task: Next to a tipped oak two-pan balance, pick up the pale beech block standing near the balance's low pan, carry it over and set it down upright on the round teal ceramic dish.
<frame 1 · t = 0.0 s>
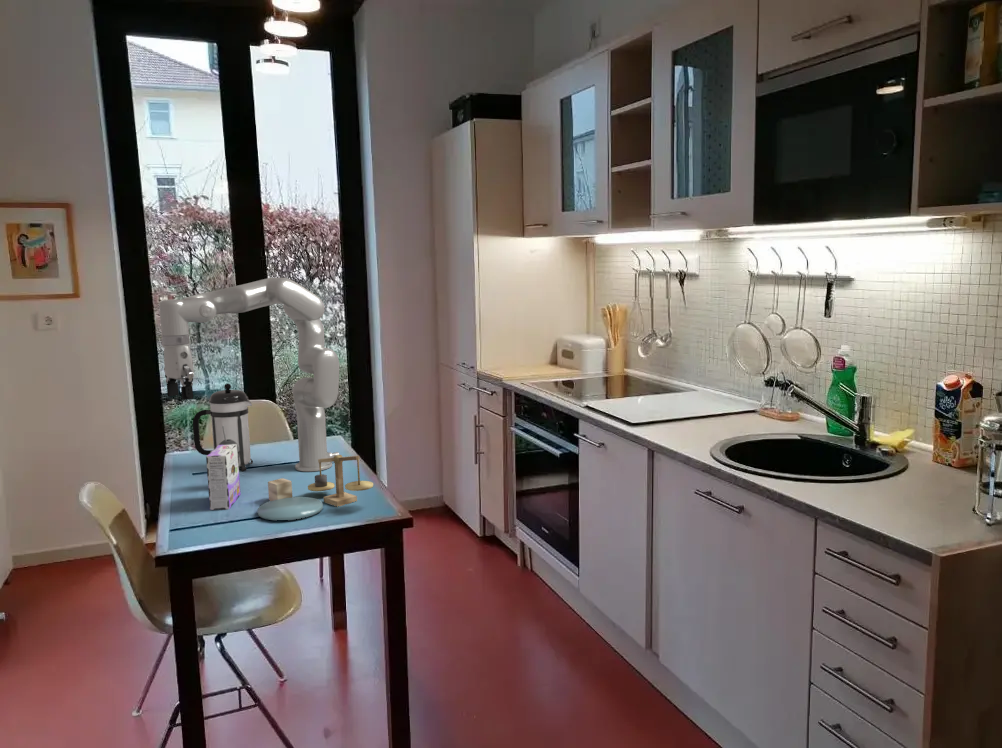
hand: (180, 397, 235), 31 cm above the table, tool pointing down, fingers open, 9 cm apart
coffee press: (229, 468, 272), on the table
candy box: (225, 503, 234), on the table
balance: (340, 501, 232), on the table
dish: (290, 511, 224), on the table
block: (280, 500, 235), on the table
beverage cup: (230, 487, 249), on the table
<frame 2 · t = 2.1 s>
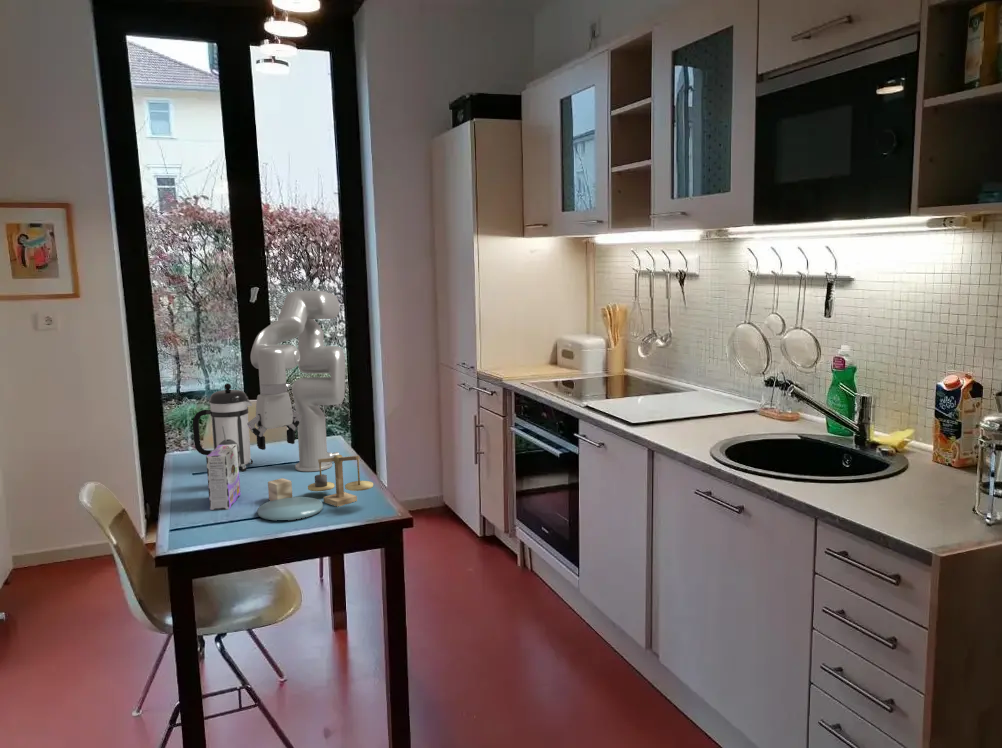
hand: (276, 446, 232), 17 cm above the table, tool pointing down, fingers open, 9 cm apart
nothing on the table moved.
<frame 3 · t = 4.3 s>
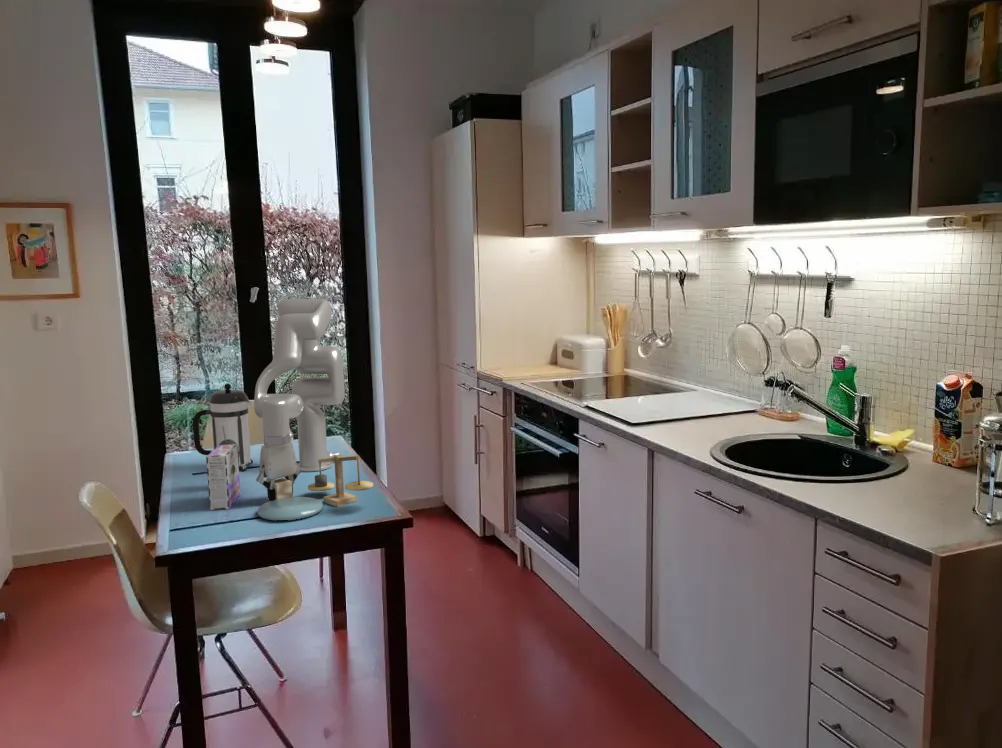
hand: (280, 498, 234), 1 cm above the table, tool pointing down, fingers closed on block, 5 cm apart
block: (280, 500, 235), on the table, touching gripper
everything else where it was.
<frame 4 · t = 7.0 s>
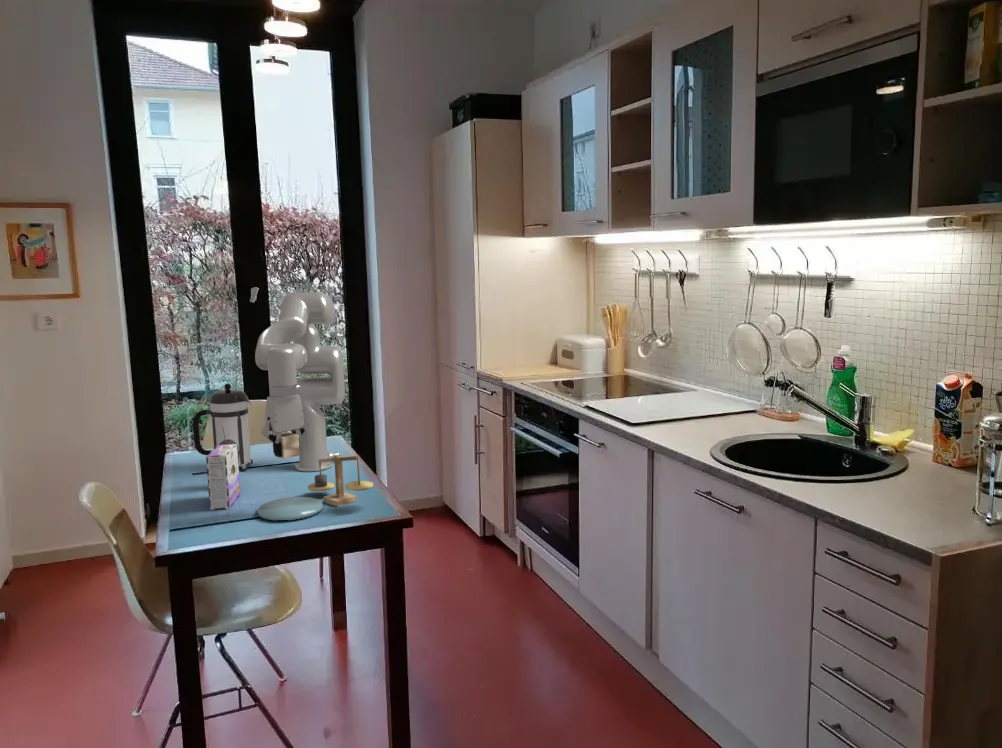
hand: (287, 453, 221), 17 cm above the table, tool pointing down, fingers closed on block, 5 cm apart
block: (287, 455, 221), point 17 cm above the table, touching gripper
everything else where it was.
when the fingers open (3 cm above the table, at t = 9.9 s): block stays where it is, resting on dish.
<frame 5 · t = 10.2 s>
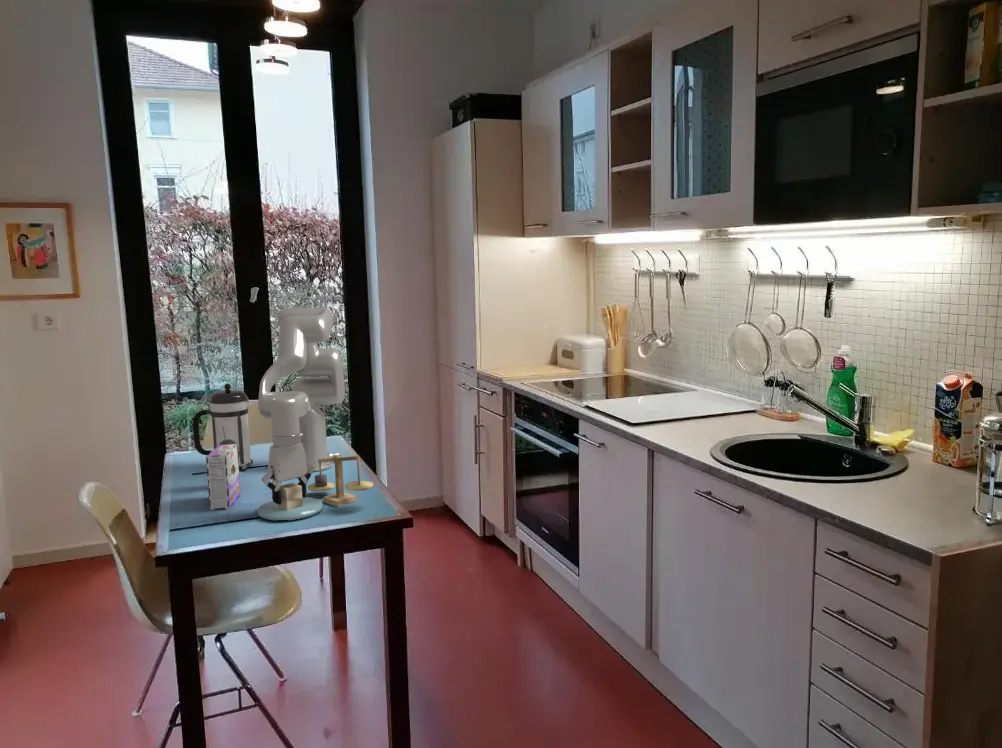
hand: (290, 499, 223), 4 cm above the table, tool pointing down, fingers open, 7 cm apart
block: (290, 506, 223), point 2 cm above the table, touching dish
everything else where it was.
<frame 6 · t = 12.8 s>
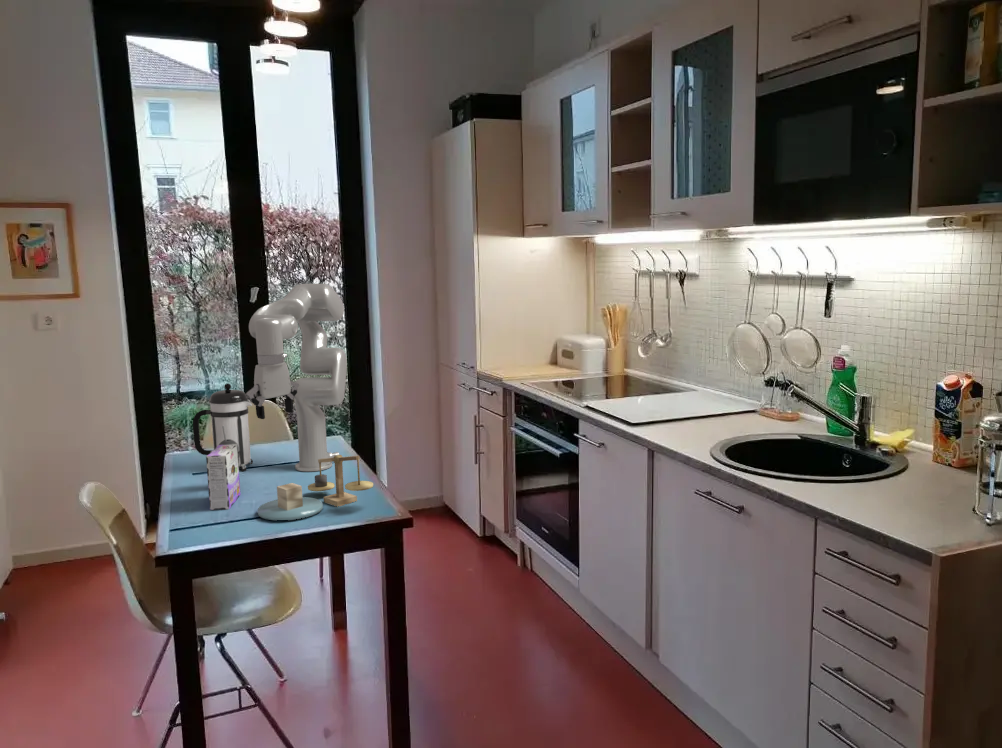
hand: (275, 415, 235), 25 cm above the table, tool pointing down, fingers open, 9 cm apart
nothing on the table moved.
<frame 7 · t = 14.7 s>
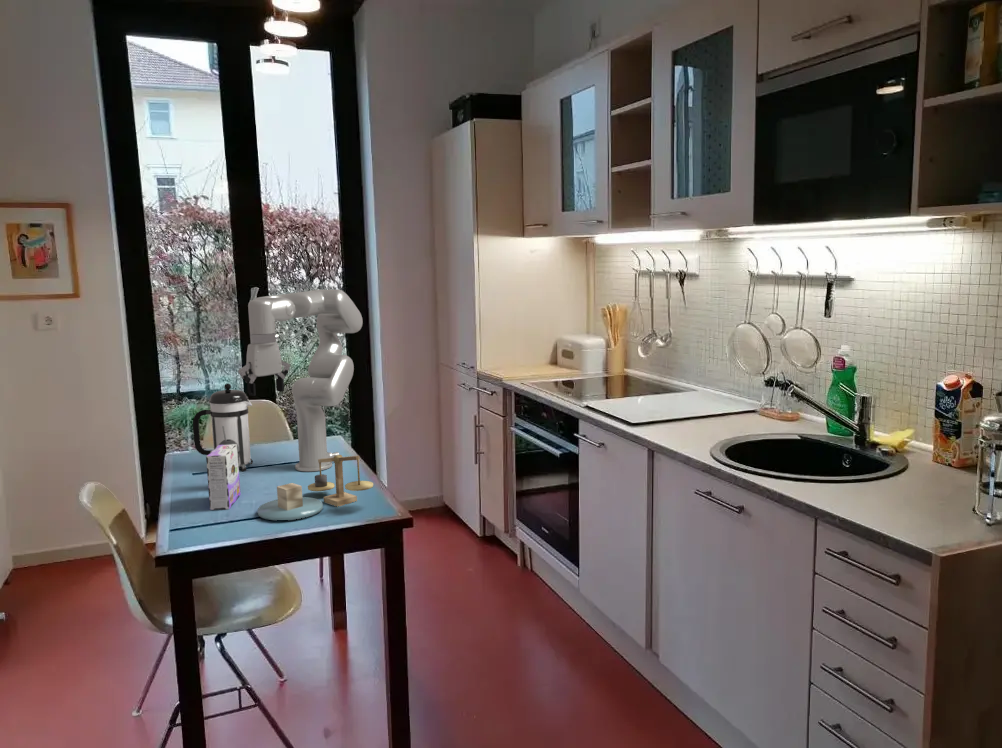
hand: (266, 393, 245), 30 cm above the table, tool pointing down, fingers open, 9 cm apart
nothing on the table moved.
at the end: block inside the target area on the dish (0.1 cm from its centre), point 1.6 cm above the dish's base; block tilted 0°; the gripper is holding nothing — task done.
